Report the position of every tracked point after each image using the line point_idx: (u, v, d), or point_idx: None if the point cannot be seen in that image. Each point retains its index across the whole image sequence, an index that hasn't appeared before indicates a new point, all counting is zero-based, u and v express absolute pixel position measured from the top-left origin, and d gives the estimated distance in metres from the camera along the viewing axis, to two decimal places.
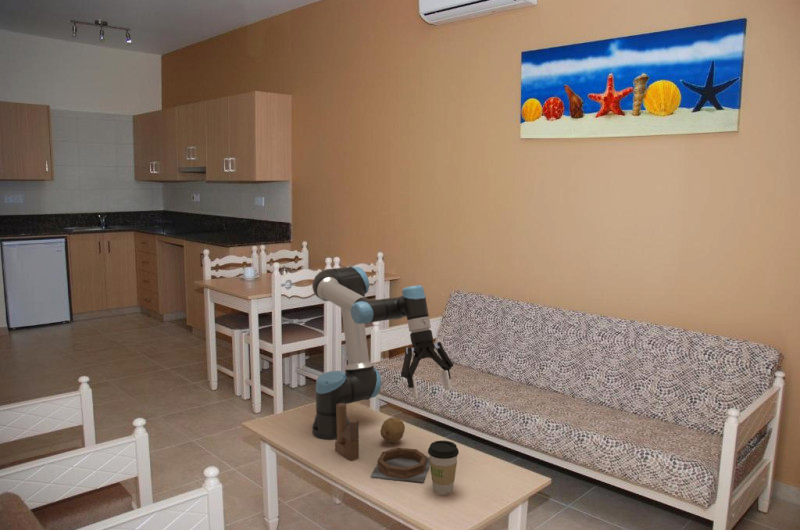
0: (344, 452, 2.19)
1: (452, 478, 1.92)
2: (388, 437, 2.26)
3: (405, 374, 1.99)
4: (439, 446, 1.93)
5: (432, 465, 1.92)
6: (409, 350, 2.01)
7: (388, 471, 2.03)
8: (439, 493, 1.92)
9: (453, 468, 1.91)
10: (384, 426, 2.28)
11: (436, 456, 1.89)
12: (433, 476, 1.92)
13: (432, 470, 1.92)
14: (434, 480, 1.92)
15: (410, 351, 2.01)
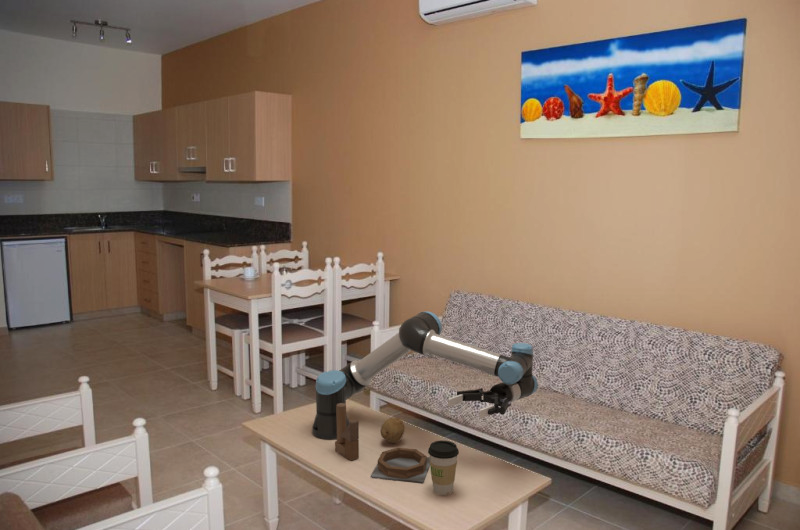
0: (344, 452, 2.19)
1: (452, 478, 1.92)
2: (388, 437, 2.26)
3: None
4: (439, 446, 1.93)
5: (432, 465, 1.92)
6: (509, 405, 2.04)
7: (388, 471, 2.03)
8: (439, 493, 1.92)
9: (453, 468, 1.91)
10: (384, 426, 2.28)
11: (436, 456, 1.89)
12: (433, 476, 1.92)
13: (432, 470, 1.92)
14: (434, 480, 1.92)
15: None
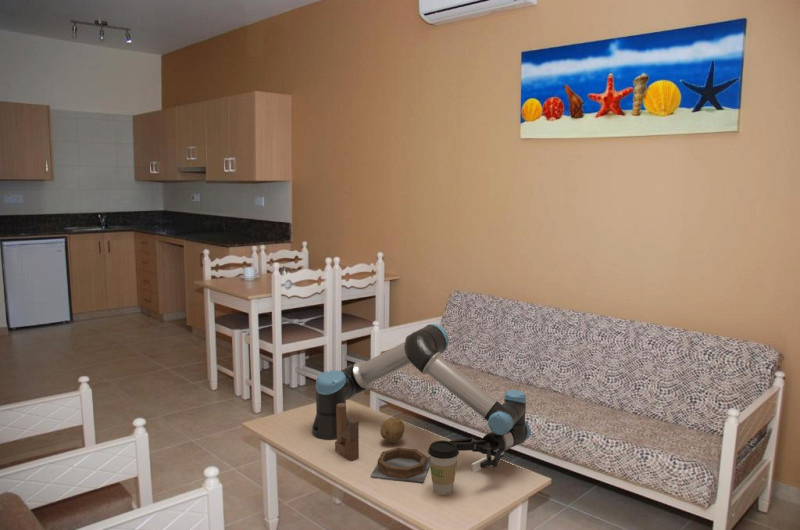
0: (344, 452, 2.19)
1: (452, 478, 1.92)
2: (388, 437, 2.26)
3: None
4: (439, 446, 1.93)
5: (432, 465, 1.92)
6: None
7: (388, 471, 2.03)
8: (439, 493, 1.92)
9: (453, 468, 1.91)
10: (384, 426, 2.28)
11: (436, 456, 1.89)
12: (433, 476, 1.92)
13: (432, 470, 1.92)
14: (434, 480, 1.92)
15: None
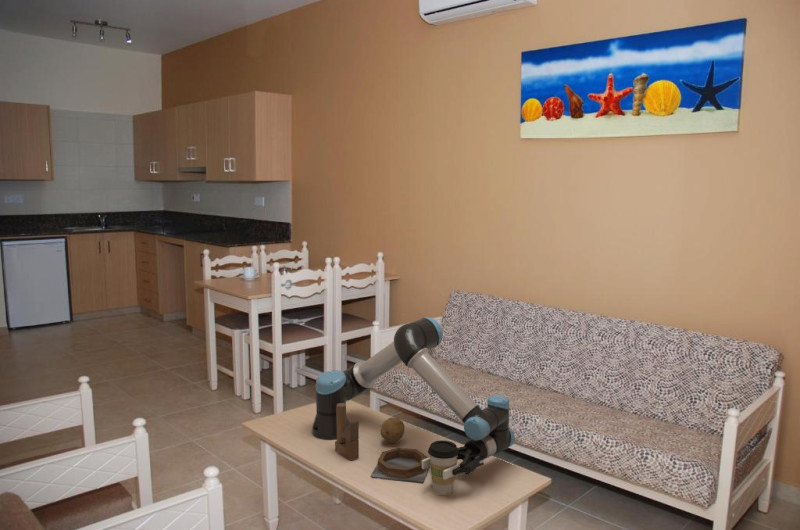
0: (344, 452, 2.19)
1: (452, 478, 1.92)
2: (388, 437, 2.26)
3: None
4: (439, 446, 1.93)
5: (432, 465, 1.92)
6: (481, 464, 1.97)
7: (388, 471, 2.03)
8: (439, 493, 1.92)
9: None
10: (384, 426, 2.28)
11: (436, 456, 1.89)
12: (433, 476, 1.92)
13: (432, 470, 1.92)
14: (434, 480, 1.92)
15: None
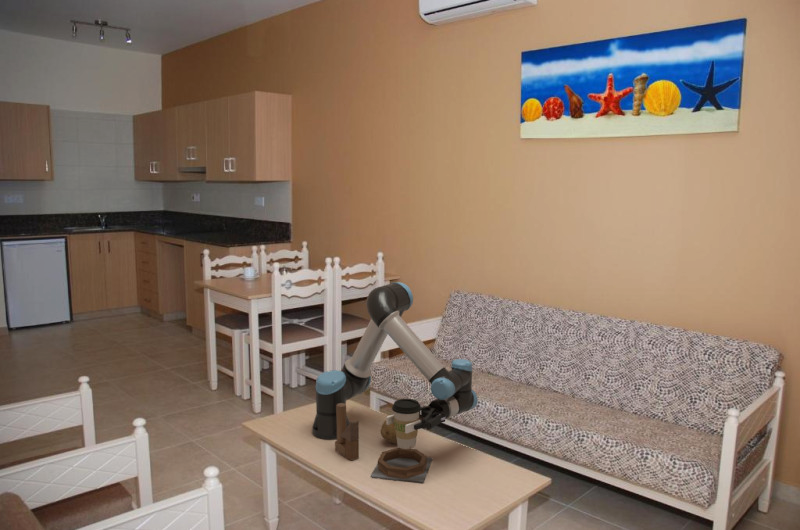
0: (344, 452, 2.19)
1: (414, 433, 2.04)
2: (388, 437, 2.26)
3: None
4: (403, 403, 2.06)
5: (395, 420, 2.04)
6: (443, 421, 2.09)
7: (388, 471, 2.03)
8: (402, 447, 2.05)
9: None
10: (384, 426, 2.28)
11: (399, 412, 2.02)
12: (396, 431, 2.05)
13: (396, 425, 2.05)
14: (397, 435, 2.05)
15: None
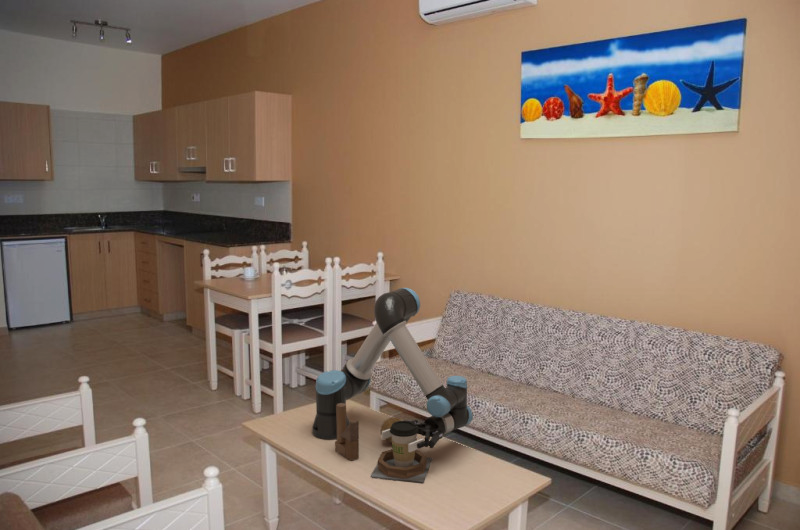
0: (344, 452, 2.19)
1: (412, 455, 2.07)
2: None
3: None
4: (400, 425, 2.08)
5: (393, 443, 2.06)
6: (440, 438, 2.12)
7: (388, 471, 2.03)
8: None
9: None
10: (384, 426, 2.28)
11: (396, 434, 2.04)
12: (394, 453, 2.07)
13: (393, 448, 2.07)
14: (395, 457, 2.07)
15: None
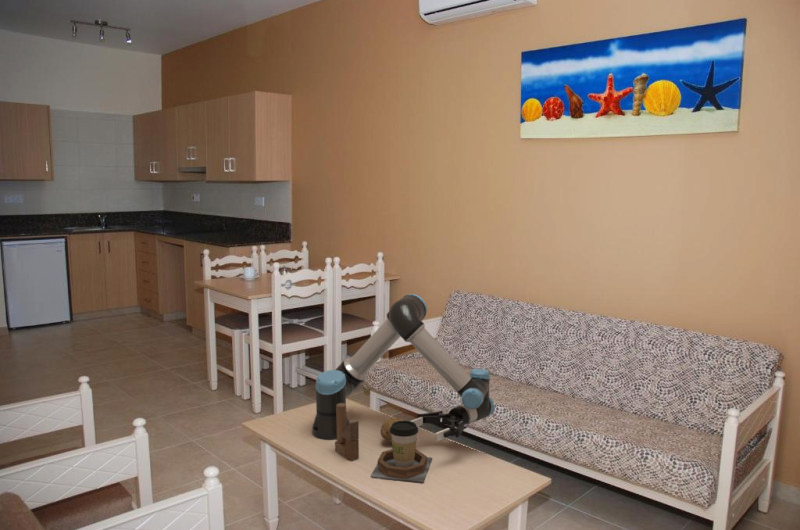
0: (344, 452, 2.19)
1: (412, 455, 2.07)
2: (388, 437, 2.26)
3: None
4: (400, 425, 2.08)
5: (393, 443, 2.06)
6: None
7: (388, 471, 2.03)
8: None
9: (413, 445, 2.06)
10: (384, 426, 2.28)
11: (396, 434, 2.04)
12: (394, 453, 2.07)
13: (393, 447, 2.07)
14: (395, 457, 2.07)
15: None
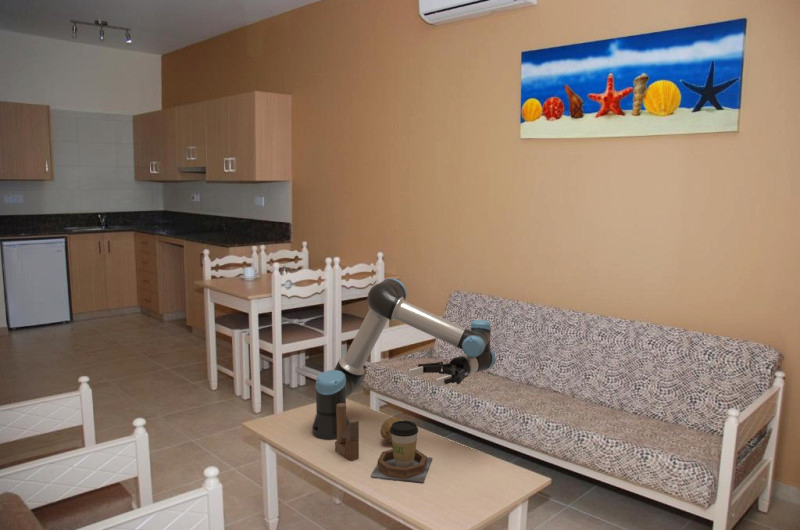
0: (344, 452, 2.19)
1: (412, 455, 2.07)
2: (388, 437, 2.26)
3: None
4: (400, 425, 2.08)
5: (393, 443, 2.06)
6: (466, 376, 2.18)
7: (388, 471, 2.03)
8: None
9: (413, 445, 2.06)
10: (384, 426, 2.28)
11: (397, 434, 2.04)
12: (394, 453, 2.07)
13: (393, 447, 2.07)
14: (395, 457, 2.07)
15: None
